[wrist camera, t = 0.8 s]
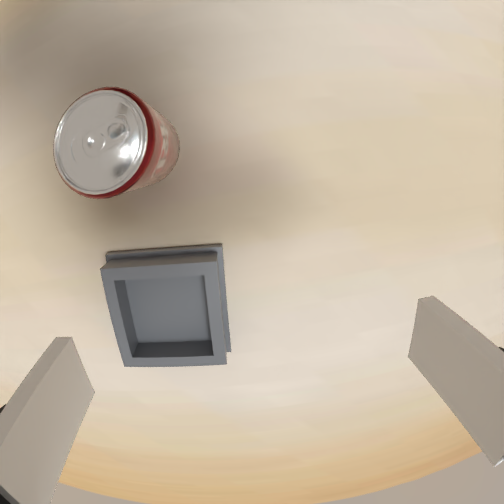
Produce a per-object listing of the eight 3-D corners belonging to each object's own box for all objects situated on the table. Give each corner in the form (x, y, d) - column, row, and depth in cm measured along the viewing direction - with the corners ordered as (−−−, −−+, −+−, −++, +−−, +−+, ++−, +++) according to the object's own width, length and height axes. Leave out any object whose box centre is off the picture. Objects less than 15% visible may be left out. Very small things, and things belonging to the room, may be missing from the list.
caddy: (108, 252, 30) (94, 264, 26) (222, 243, 31) (222, 255, 27) (129, 350, 33) (121, 370, 30) (230, 346, 34) (232, 367, 30)
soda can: (123, 196, 29) (68, 217, 17) (101, 130, 27) (38, 117, 15) (190, 170, 29) (169, 173, 17) (167, 101, 27) (134, 65, 15)
